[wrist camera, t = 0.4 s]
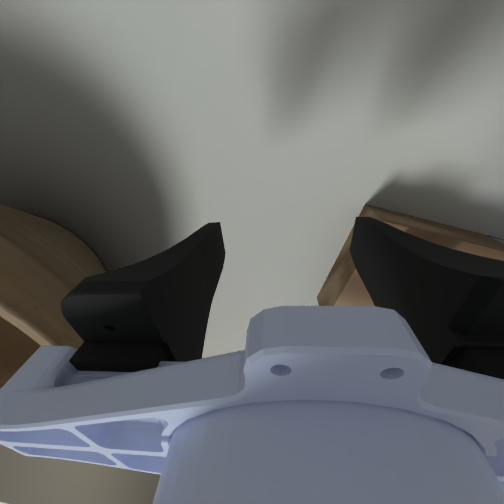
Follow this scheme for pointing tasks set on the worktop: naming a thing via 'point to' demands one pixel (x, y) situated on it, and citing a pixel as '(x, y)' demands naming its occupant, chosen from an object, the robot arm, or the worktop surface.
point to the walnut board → (344, 272)
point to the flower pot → (37, 285)
